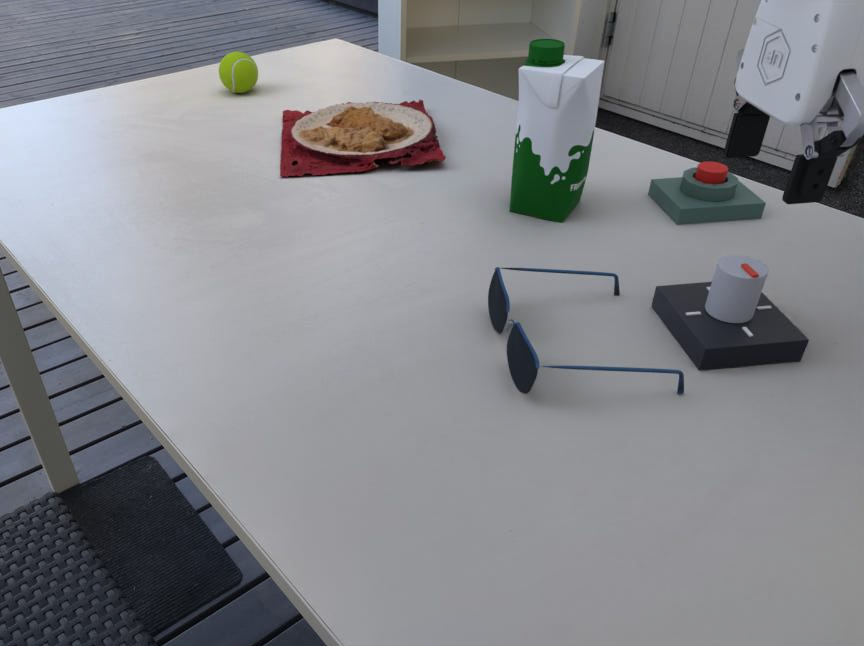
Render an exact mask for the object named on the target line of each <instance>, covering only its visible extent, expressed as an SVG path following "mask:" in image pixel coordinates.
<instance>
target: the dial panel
mask: <svg viewBox="0 0 864 646" xmlns="http://www.w3.org/2000/svg"><path fill="white" fill-rule="evenodd" d="M711 283H712V281H702V282H691V283H679V284H667V285H656V286H655V289H654V293H653V298H652V302H651V306H650V307H651V308H652V309H653V310H654V312H655V313H656V314H657V316H658V318H659V319H660V320H661V321H662V323H663V324H664V326H665V327H666V328H667V329H668V331H669V332H670V333H671V335H672V336H673V338H674V339H675V340H676V342H677V343H678V344H679V345H680V347H681V348H682V349H683V351H684V352H685V353H686V355H687V356H688V358H689V359H690V361H691V362H692V363H693V364H694V366H695V367H696V368H697V369H698V371H707V370H718V369H729V368H742V367H749V366H750V367H752V366H762V365H774V364H784V363H795V362H801V361H802V359H803V356H804V354H805V351H806V350H807V346H808V344H809V341H810V339H809V338H808V337H807V336H806V335H805V334H804V332H802V331H801V330H800V328H798V327H797V325H795V323H793V321H791V320H790V319H789V318H788V317H787V316H786V315H785V313H784V312H782V311H781V309H779V307H777V306H776V305H775V303H774V302H773V301H771V299H770V298H768V296H766V295H765V293H763V291H762V292H761V295H760V298H759V301H758V304H757V307H756V309H755V312H754V315H753V318H752V319H751V320H750V321H748V322H745V323H728V322H724V321H720V320H718V319H716V318H714V317H712V316H711V315H709V314H708V313H707V311H706V309H705V304H706V300H707V297H708V294H709V290H710V287H711Z"/></svg>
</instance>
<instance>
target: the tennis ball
mask: <svg viewBox="0 0 864 646" xmlns="http://www.w3.org/2000/svg"><path fill="white" fill-rule="evenodd" d="M218 76H219V79H220V82H221V83H222V85H223V86H224V87H225V88H226V89H227V90H228V91H230V92H232V93H234V94H235V93H236V94H244V93H247V92H249V91H251V90H252V89H253V88H254V87H255V86H256V84H257V83H258V79H259V70H258V65H257V62H255V60H254V58H253V57H252V56H250V54H248V53H245V52H244V51H243V52H242V51H232V52H229V53H227V54H226V55H224V56H223V58H222V59H221V60H220V62H219V66H218Z"/></svg>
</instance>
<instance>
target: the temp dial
mask: <svg viewBox="0 0 864 646" xmlns="http://www.w3.org/2000/svg"><path fill="white" fill-rule="evenodd" d="M768 274H769V268H768V266H767V265H766V264H765V263H764V262H763V261H761V260H759V259H757V258H754V257H751V256H747V255H742V254H728V255H723V256H722V257H720V258H719V259H718V260H717V264H716V266H715V270H714V273H713V277H712V281H711V282H712V283H711V287H710V290H709V294H708V297H707V300H706V304H705V309H706V311H707V313H708V314H709V315H711V316H712V317H714V318H716V319H718V320H720V321H724V322H728V323H745V322H748V321H750V320H751V319H752V318H753V315H754V312H755V309H756V307H757V304H758V301H759V298H760V295H761V292H762V293H763V288H764V286H765V283H766V280H767V277H768Z"/></svg>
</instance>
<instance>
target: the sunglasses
mask: <svg viewBox="0 0 864 646" xmlns="http://www.w3.org/2000/svg"><path fill="white" fill-rule="evenodd" d="M501 270H509V271H519V272H533V273H535V272H536V273H548V274H549V273H550V274H551V273H552V274H568V275H570V274H571V275H585V276H601V277H613V278H614V287H613V296H620V295H621V294H620V281H619V275H618V274H616V273H614V272H604V271H591V270H590V271H588V270H573V269H572V270H571V269H555V268H553V269H552V268H538V267H537V268H534V267H533V268H532V267H499V266H496V267H495V268H494V272H493V274H492V277H491V280H490V282H489V283H490V284H489V288H488V293H487V305H488V306H487V307H488V314H489V319H490V322H491V325H492V328H493V330H494V331H495V333H497V334H498V335H502V333H503V332H504V331H505V332H506V333H507V332H509V334H508V337H507V342H506V359H507V365H508V369H509V373H510V376H511V379H512V381H513V384H514V385H515V387H516V389H517V391H518V392H520V393H521V394H525V395H527V394H528V393H530V392H531V390H532V388H533V386H534V384H535V382H536V380H537V377H538V373H539V371H538V370H539V369H540V368H541V367H542V368H550V369H563V370H578V371H598V372H599V371H601V372H627V373H628V372H629V373H654V374H672V375H673V374H676V375H678V382H677V383H678V384H677V391H676V393H677V395H683V394H685V374H684V372H683V371H682V370H681V369H671V368H655V367H654V368H651V367H629V366H628V367H627V366H602V365H601V366H600V365H599V366H596V365H540V359H539V356H538V354H537V352H536V349H535V348H534V347H533V345H532V343H531V341H530V339H529V337H528V336H527V334H526V333H525V330H524V328H523V326H522V324H521V322H519V321H515V320H514V319H513V318H512V319H509V320H508V317H509V313H510V310H511V309H510V307H511V306H510V305H511V304H510V297H509V294H508V291H507V289H506V288H507V287H506V285H505V283H504V280H503V276H502V272H501ZM507 321H508V322H511V323H508V324H507Z"/></svg>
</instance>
